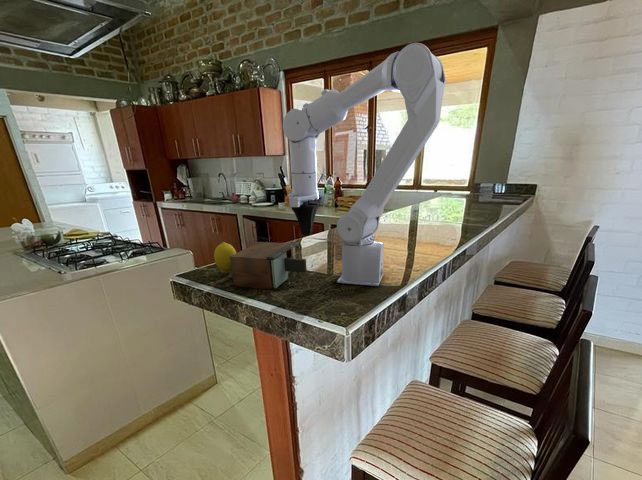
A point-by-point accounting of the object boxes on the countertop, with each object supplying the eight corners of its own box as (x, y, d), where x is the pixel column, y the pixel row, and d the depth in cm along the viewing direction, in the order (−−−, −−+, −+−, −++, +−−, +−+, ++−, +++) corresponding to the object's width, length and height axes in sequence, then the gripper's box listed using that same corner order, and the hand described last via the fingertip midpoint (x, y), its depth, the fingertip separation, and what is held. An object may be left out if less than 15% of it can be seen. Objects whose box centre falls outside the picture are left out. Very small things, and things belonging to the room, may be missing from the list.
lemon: (242, 269, 88) (238, 239, 84) (235, 276, 83) (230, 244, 79) (222, 269, 88) (216, 239, 85) (213, 276, 83) (208, 244, 80)
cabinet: (300, 270, 86) (298, 242, 82) (277, 290, 74) (274, 257, 70) (262, 268, 89) (259, 240, 85) (234, 286, 77) (229, 254, 73)
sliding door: (308, 279, 78) (306, 253, 75) (296, 290, 72) (295, 261, 69) (286, 278, 80) (283, 251, 77) (273, 288, 74) (270, 260, 71)
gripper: (298, 171, 82) (301, 227, 88) (274, 175, 70) (279, 240, 75) (326, 171, 80) (327, 228, 86) (305, 175, 68) (308, 241, 73)
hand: (306, 234), depth 81 cm, fingers closed
